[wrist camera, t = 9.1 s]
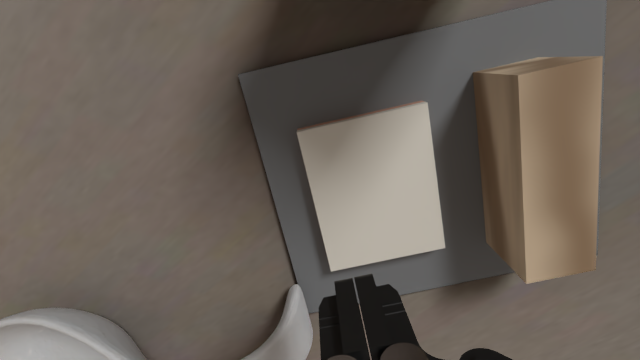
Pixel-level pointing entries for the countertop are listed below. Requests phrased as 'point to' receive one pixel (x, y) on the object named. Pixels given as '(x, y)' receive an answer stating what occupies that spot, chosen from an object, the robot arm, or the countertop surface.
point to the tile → (374, 185)
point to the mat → (445, 120)
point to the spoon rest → (118, 347)
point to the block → (541, 163)
